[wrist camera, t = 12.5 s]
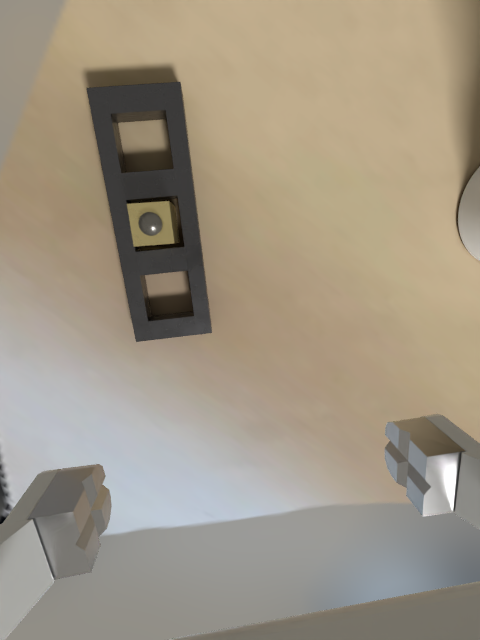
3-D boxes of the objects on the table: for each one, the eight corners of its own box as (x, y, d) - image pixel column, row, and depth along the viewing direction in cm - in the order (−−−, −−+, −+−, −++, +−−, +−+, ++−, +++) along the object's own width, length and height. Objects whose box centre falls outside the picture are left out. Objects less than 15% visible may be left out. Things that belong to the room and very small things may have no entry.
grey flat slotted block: (182, 92, 33) (180, 81, 31) (211, 327, 40) (211, 332, 38) (95, 98, 32) (86, 87, 30) (140, 335, 39) (136, 341, 37)
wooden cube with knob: (175, 206, 36) (168, 200, 30) (179, 242, 37) (173, 243, 31) (140, 209, 36) (125, 203, 29) (145, 244, 37) (132, 246, 30)
